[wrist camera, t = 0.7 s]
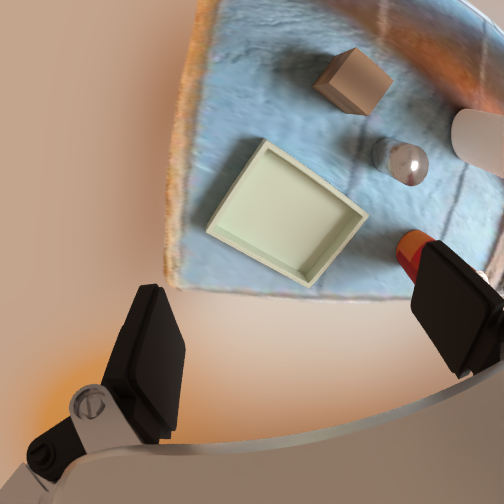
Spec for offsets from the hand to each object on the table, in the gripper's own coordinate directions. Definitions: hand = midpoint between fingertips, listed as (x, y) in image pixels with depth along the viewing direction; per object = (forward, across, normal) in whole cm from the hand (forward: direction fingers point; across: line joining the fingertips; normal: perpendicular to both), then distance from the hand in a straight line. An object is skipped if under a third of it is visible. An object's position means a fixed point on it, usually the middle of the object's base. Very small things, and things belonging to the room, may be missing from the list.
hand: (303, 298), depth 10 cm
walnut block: (+25, -11, -8) cm, 28 cm away
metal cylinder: (+24, -16, +1) cm, 30 cm away
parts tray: (+24, -3, +7) cm, 25 cm away
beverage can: (+25, -31, -2) cm, 40 cm away
